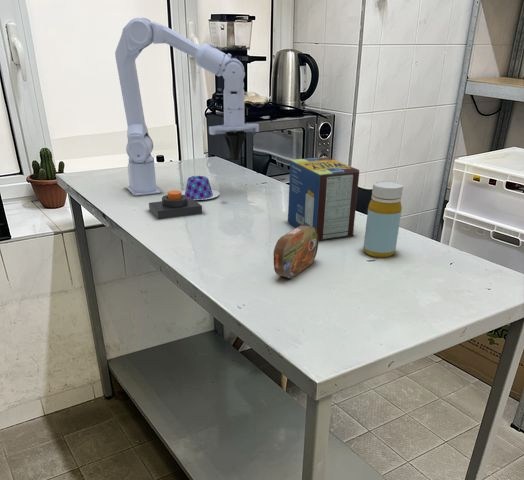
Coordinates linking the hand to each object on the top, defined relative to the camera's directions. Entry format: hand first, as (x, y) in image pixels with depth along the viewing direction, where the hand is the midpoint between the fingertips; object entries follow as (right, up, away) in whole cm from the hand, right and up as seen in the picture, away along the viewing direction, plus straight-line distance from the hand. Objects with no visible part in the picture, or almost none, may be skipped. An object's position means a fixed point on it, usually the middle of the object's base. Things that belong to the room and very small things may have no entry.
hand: (234, 159), depth 156 cm
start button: (-15, -16, -15) cm, 26 cm away
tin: (+15, -39, -45) cm, 61 cm away
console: (-15, -19, -13) cm, 27 cm away
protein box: (+22, -25, -23) cm, 41 cm away
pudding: (-10, -11, +1) cm, 15 cm away
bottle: (+34, -34, -36) cm, 60 cm away
